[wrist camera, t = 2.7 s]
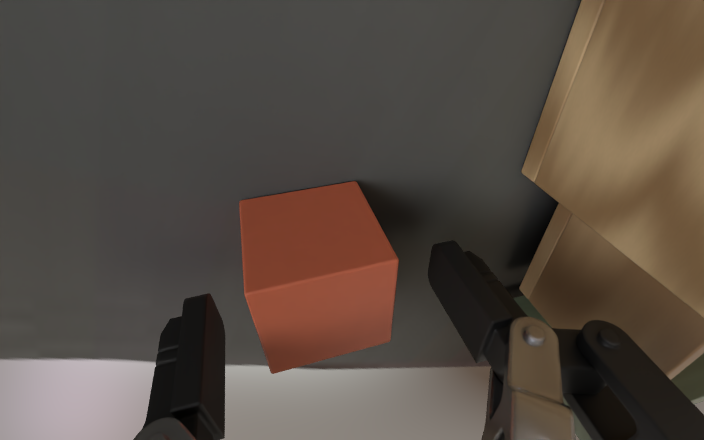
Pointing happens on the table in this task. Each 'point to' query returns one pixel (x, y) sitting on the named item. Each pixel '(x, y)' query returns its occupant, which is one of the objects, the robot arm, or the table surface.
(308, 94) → the table surface
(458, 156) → the table surface
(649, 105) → the cabinet
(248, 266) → the block
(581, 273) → the drawer
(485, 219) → the table surface
